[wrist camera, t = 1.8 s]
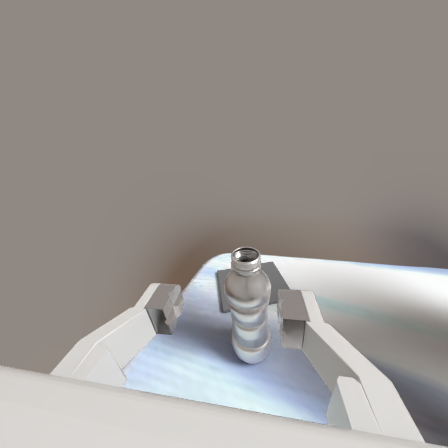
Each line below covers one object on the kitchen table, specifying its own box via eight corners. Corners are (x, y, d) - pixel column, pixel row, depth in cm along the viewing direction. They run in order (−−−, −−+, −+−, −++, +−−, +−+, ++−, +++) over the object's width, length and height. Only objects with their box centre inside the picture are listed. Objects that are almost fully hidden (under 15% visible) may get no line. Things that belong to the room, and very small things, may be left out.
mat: (272, 263, 51) (272, 261, 50) (294, 299, 39) (294, 297, 39) (217, 273, 50) (217, 270, 49) (223, 313, 38) (223, 310, 38)
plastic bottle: (276, 367, 28) (280, 267, 20) (234, 372, 28) (220, 274, 20) (265, 328, 34) (265, 238, 25) (231, 332, 34) (218, 244, 25)
